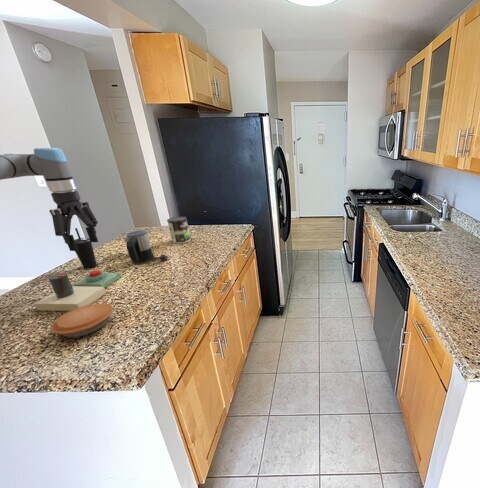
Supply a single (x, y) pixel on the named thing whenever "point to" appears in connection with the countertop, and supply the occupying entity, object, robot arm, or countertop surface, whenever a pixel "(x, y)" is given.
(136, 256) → the milk frother
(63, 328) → the pie
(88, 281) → the red push button panel
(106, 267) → the countertop surface
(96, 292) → the hob console
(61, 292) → the hob knob
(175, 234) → the coffee can
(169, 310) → the countertop surface
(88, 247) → the drinking cup
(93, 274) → the button
